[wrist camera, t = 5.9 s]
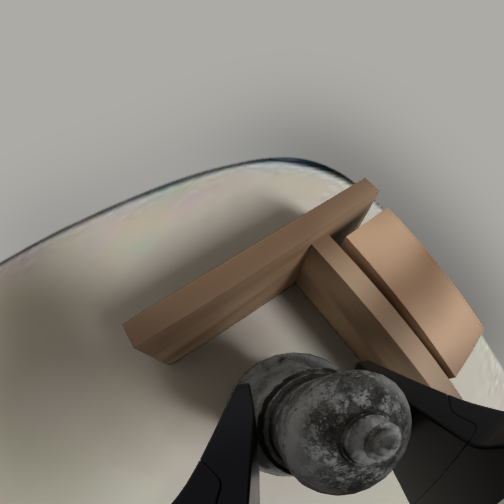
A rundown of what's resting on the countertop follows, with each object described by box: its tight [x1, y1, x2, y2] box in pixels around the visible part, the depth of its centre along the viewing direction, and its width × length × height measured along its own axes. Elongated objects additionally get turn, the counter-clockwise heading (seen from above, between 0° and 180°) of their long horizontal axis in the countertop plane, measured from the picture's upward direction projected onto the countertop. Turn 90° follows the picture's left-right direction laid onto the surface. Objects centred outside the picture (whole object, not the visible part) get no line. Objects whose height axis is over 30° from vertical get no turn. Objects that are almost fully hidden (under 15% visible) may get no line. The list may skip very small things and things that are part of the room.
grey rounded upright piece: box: [227, 353, 412, 496], centre depth 8 cm, size 6×6×12 cm
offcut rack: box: [122, 178, 462, 400], centre depth 13 cm, size 14×16×6 cm
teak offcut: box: [340, 208, 484, 379], centre depth 13 cm, size 10×4×2 cm, turn 34°
